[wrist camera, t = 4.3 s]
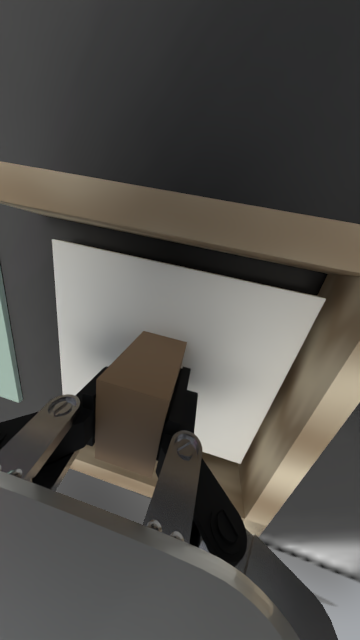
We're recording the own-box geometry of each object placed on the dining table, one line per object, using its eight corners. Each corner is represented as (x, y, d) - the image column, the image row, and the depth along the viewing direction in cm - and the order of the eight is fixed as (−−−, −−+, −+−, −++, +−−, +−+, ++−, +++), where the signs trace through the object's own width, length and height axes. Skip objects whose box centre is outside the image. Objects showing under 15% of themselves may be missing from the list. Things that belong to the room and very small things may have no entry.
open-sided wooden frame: (44, 190, 11) (-39, 154, 7) (370, 251, 9) (477, 245, 6) (59, 411, 18) (20, 450, 14) (248, 473, 16) (259, 536, 13)
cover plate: (62, 240, 11) (-77, 221, 6) (317, 295, 10) (451, 341, 4) (70, 399, 16) (-1, 469, 11) (238, 453, 15) (254, 566, 9)
